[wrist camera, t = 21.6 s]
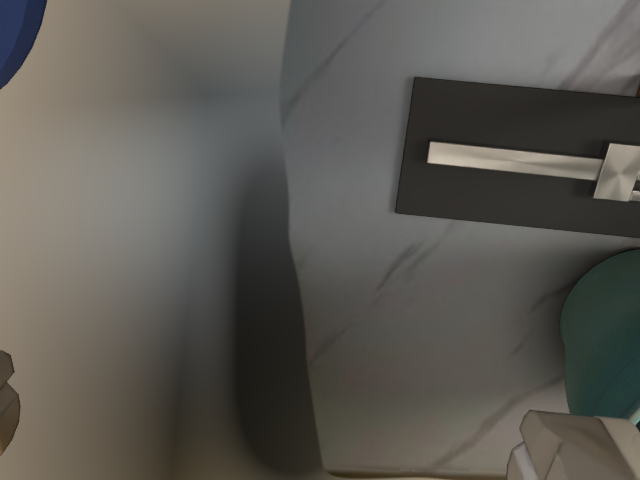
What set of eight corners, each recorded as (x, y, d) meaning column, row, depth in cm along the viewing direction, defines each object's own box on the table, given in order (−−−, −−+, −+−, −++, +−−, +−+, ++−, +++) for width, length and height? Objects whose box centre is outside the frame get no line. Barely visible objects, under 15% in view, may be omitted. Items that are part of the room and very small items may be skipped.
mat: (395, 211, 42) (395, 213, 41) (414, 76, 38) (415, 77, 37) (688, 241, 41) (691, 243, 40) (740, 106, 37) (744, 107, 36)
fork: (422, 176, 40) (423, 180, 39) (431, 121, 38) (433, 124, 37) (671, 202, 39) (678, 207, 38) (691, 148, 38) (699, 152, 37)
